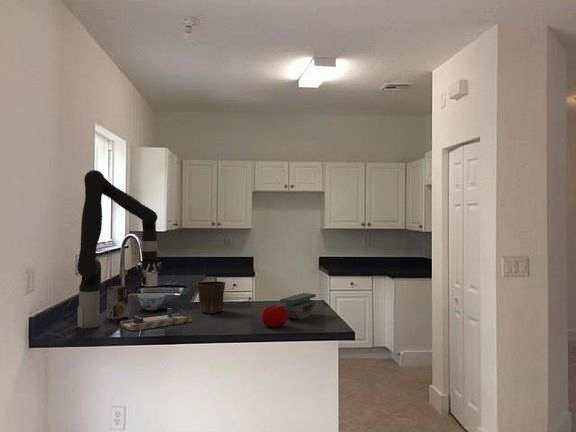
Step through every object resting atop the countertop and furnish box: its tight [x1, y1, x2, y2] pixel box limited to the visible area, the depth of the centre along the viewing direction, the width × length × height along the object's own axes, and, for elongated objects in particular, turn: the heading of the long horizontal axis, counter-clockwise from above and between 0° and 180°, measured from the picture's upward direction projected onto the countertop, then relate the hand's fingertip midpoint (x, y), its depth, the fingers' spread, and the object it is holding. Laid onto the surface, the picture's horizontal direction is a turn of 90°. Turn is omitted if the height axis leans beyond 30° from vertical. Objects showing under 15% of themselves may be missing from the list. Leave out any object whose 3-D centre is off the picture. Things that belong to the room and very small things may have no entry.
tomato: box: [261, 304, 288, 328], centre depth 252 cm, size 11×13×10 cm
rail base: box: [119, 313, 193, 332], centre depth 258 cm, size 32×13×4 cm, turn 131°
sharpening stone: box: [279, 292, 317, 320], centre depth 276 cm, size 25×8×11 cm, turn 150°
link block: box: [141, 272, 158, 288], centre depth 261 cm, size 5×7×6 cm
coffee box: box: [106, 285, 129, 320], centre depth 276 cm, size 9×6×16 cm
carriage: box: [142, 307, 177, 323], centre depth 258 cm, size 16×9×5 cm, turn 131°
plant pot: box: [196, 280, 227, 314], centre depth 292 cm, size 16×16×16 cm
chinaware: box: [137, 293, 166, 311], centre depth 300 cm, size 15×15×8 cm
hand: (149, 283), depth 261 cm, fingers closed on link block, 5 cm apart
